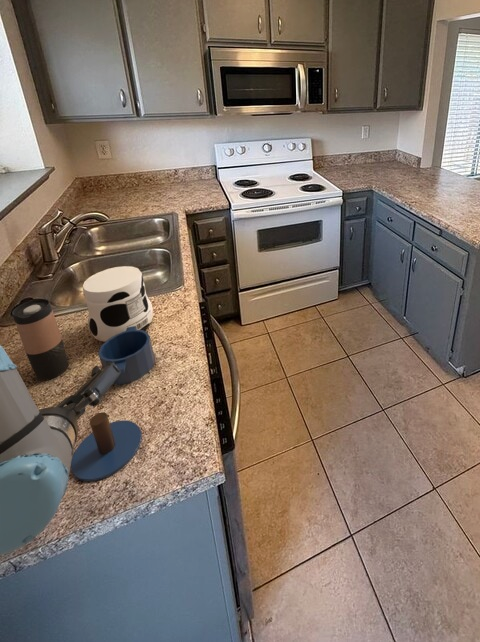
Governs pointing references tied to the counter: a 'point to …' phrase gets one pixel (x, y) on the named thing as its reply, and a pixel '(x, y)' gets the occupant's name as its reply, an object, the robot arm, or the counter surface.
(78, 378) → the counter surface
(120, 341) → the pot
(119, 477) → the counter surface
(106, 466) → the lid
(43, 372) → the travel mug
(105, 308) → the milk container
